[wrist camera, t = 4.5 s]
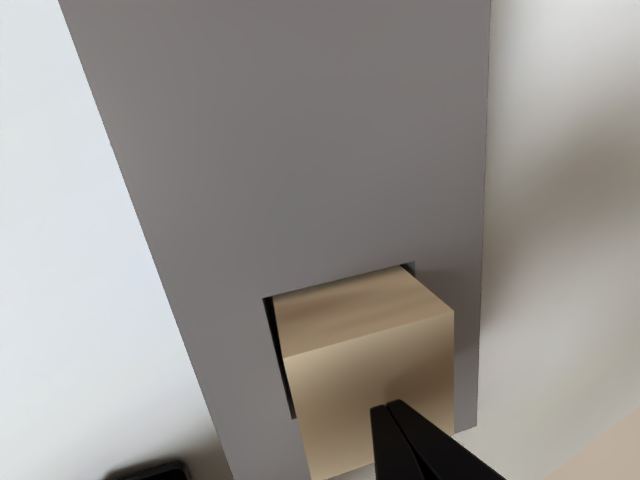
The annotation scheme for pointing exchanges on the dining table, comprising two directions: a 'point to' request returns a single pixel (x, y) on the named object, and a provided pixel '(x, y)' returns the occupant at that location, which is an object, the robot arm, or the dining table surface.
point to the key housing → (293, 174)
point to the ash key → (363, 361)
